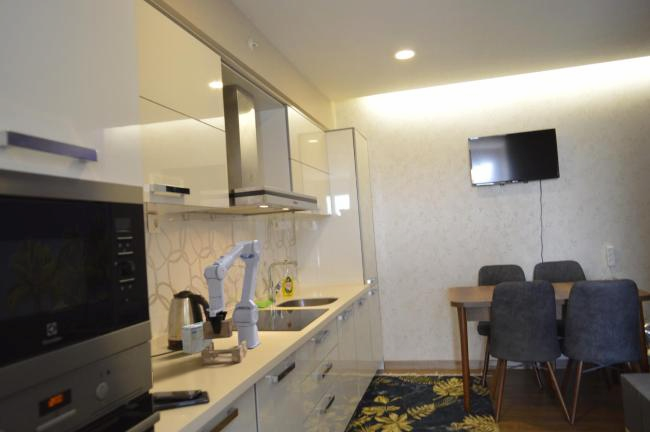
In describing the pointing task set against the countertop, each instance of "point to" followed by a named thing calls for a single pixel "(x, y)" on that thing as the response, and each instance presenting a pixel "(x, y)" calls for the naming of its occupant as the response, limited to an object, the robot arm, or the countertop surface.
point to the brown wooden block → (225, 332)
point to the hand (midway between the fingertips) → (218, 332)
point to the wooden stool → (223, 354)
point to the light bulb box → (194, 338)
